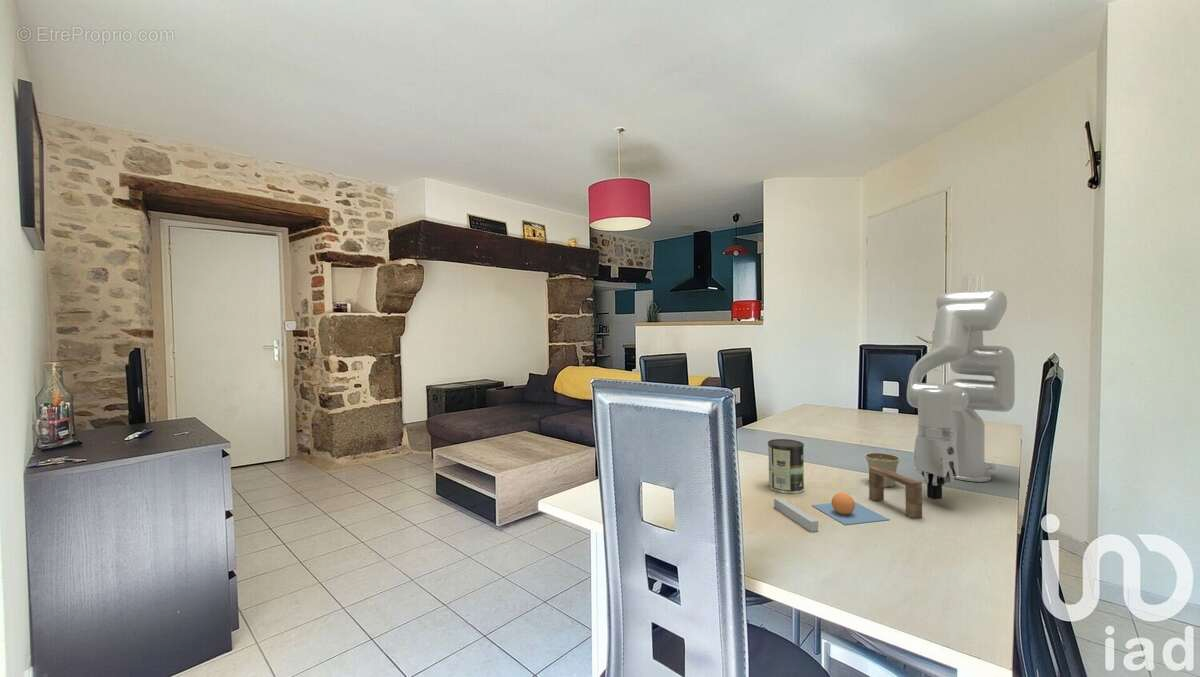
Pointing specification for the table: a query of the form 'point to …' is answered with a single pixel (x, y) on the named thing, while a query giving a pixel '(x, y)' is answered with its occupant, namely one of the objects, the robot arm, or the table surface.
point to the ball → (843, 503)
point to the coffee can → (786, 466)
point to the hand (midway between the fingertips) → (934, 498)
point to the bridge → (911, 485)
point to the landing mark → (851, 514)
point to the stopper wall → (796, 514)
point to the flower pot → (883, 464)
